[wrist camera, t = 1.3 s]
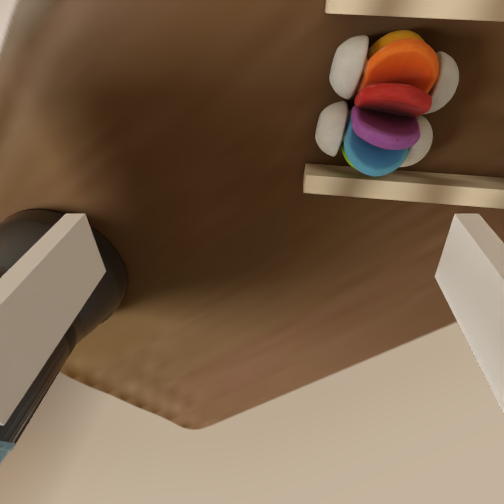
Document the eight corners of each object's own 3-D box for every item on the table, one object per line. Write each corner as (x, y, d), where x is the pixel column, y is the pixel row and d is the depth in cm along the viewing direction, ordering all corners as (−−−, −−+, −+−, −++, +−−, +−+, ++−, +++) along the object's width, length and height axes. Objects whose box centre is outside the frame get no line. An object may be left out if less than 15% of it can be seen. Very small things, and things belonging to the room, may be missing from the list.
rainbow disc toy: (461, 38, 25) (509, 53, 19) (405, 168, 31) (430, 209, 25) (341, 16, 25) (353, 25, 19) (308, 150, 31) (310, 187, 25)
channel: (303, 180, 32) (303, 207, 28) (328, -18, 24) (334, -20, 20) (548, 199, 31) (586, 230, 27) (666, -4, 23) (745, -3, 19)
